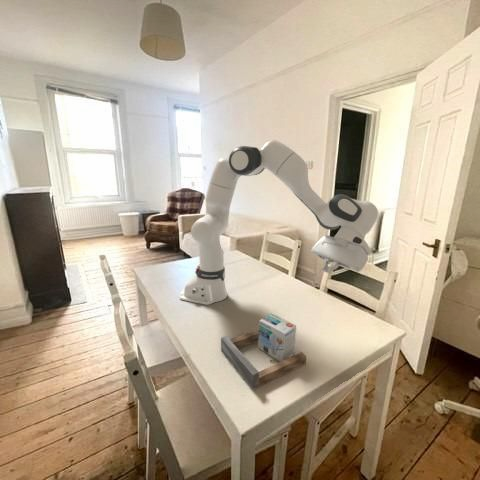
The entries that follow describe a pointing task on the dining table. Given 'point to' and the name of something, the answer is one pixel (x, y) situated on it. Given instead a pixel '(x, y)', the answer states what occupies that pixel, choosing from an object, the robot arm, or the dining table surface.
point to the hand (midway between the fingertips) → (325, 271)
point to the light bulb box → (277, 337)
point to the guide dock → (247, 369)
